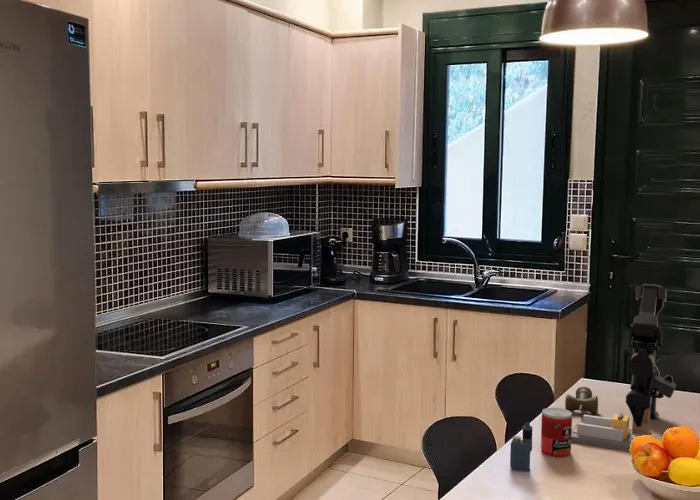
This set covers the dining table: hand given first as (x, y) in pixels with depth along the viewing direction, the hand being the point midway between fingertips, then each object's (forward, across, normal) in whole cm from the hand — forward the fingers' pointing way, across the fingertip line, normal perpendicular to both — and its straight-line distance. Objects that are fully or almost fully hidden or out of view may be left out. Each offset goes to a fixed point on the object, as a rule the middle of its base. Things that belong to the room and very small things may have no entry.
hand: (641, 421), depth 222 cm
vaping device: (+5, -38, +23) cm, 45 cm away
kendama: (+5, +19, +20) cm, 28 cm away
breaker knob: (+3, -5, +5) cm, 7 cm away
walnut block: (+3, 0, 0) cm, 3 cm away
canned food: (+5, -22, +18) cm, 29 cm away
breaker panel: (+5, -5, +7) cm, 10 cm away
